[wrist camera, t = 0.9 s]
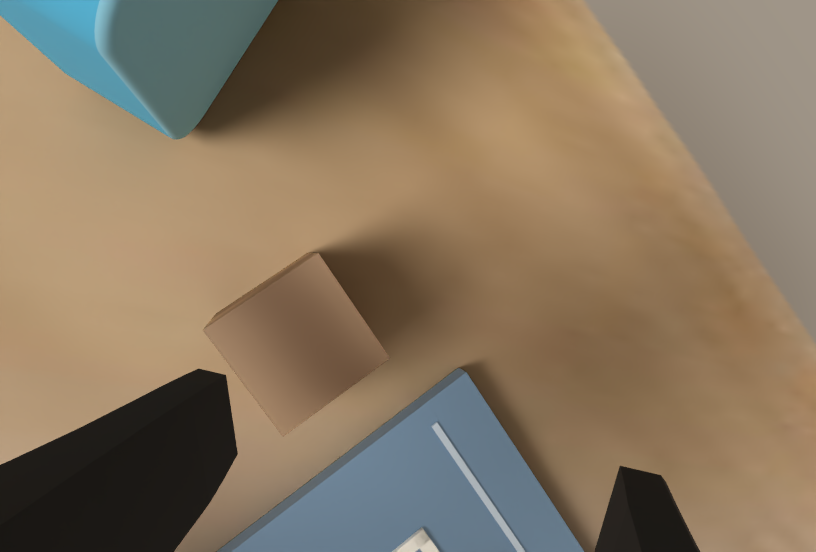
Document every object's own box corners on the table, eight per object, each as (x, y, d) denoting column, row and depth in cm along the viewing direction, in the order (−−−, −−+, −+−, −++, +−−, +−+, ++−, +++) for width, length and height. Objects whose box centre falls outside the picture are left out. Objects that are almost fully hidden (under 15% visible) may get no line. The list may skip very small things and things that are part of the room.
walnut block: (279, 398, 23) (283, 436, 18) (216, 313, 22) (202, 330, 18) (365, 336, 24) (390, 358, 19) (307, 252, 23) (318, 252, 18)
